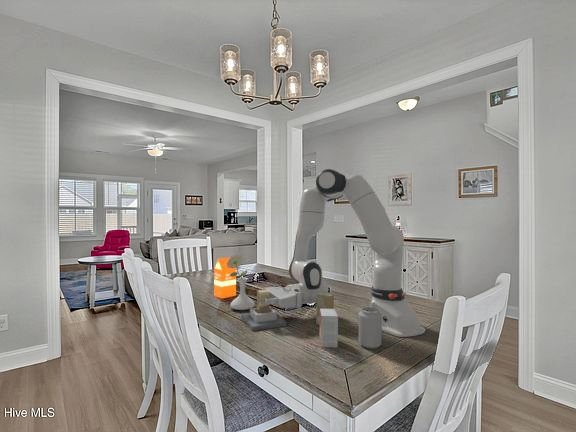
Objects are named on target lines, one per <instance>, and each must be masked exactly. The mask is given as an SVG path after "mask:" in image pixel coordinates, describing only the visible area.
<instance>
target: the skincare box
mask: <svg viewBox="0 0 576 432" xmlns="http://www.w3.org/2000/svg"><path fill="white" fill-rule="evenodd" d="M334 304H335V293H333V292H329V291H328V292H319V293H318V294H317V303H316V318H315V319H316V320H315V324H316V325H319V326H320V309H335V305H334Z"/></svg>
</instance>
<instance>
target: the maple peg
mask: <svg viewBox="0 0 576 432" xmlns="http://www.w3.org/2000/svg"><path fill="white" fill-rule="evenodd" d="M267 298H269V299H270V291H268V290H267V289H265V288H264V289H257V290H256V308H257V313H258V314H260V313H268V312H270V307H271V306H270V305H271V304H265V303H264V299H267Z"/></svg>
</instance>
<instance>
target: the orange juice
mask: <svg viewBox="0 0 576 432" xmlns="http://www.w3.org/2000/svg"><path fill="white" fill-rule="evenodd" d="M231 257H232V256H230V257H222V258H217V261H216V264H215V266H214V268H213V272H214V273H213V275H214V280H213V284H214V285H213V288H214V289H213V291H214V292H213V295H214V297H217V298H220V299H225V298H230V297H235V296H236V295H237V275H236V276H234V277H232V276H229V275H230V274H231V273H233V272H237V267H236V268H234V269H231V268H229V267H227V266H228V265H227V262H228V259H230V258H231Z"/></svg>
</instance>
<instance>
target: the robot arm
mask: <svg viewBox="0 0 576 432" xmlns="http://www.w3.org/2000/svg"><path fill="white" fill-rule="evenodd" d="M343 196H344V198H346V199H347V201H348V202H349V204H350V206H351V208H352V209H353V211H354V213H355V215H356V217H357V218H358V220H359V222H360V224H361V226H362V229H363V231H364V234H365V236H366V238H367V241H368V244H369V246H370V249H371V250H372V251H373V252H375V255H374V261H373V265H372V286H371V296H372V298H371V300H370V304H369V307H372V308H376V309H379V310H380V314H381V315H382V332H384V333H387V334H390V335H393V336H395V337H399V338H400V337H402V338H408V337H409V338H410V337H415V336H420V335H422V334H425V333H426V328H424V327H423V326H421V325H419V317H418V313H417V312H416V311H415V309H413V308H412V306H411V305H410V304H409V303H408V302H407V300H406V299H405V296H407V292H404V291H403V288H402V266H403V258H404V257H403V256H404V243H405V242H404V241H405V236H404V233H403V231H402V230H401V229H400V228H398V227H397V226H396V225H395V226H394V225H393V223H391V220H390V218H389V216H388V213H387V212H386V209H385V207H384V205H383V204H382V202H381V200H380V199H379V197H378V196H377V194H376V192H375V191H374V189H373V187H372V186H371V185H370V183H369V182H368V181H367V180H366V179H365V178H364V177H363V175H361V174H352V175H350V176H348V177H346V175H344V174H342V173H340V172H339V171H337V170H334V169H331V168H328V169H324V170H323V169H322V170H321V171H320V172H319V173H318V174H317V176H316V179H315V187H309V188H308V187H307V188H306V189H304V191H303V192H302V194H301V197H300V205H299V211H298V212H299V215H298V225H297V226H298V227H297V229H296V230H297V231H296V235H295V241H294V248H293V257H292V260H291V262H290V265H289V266H288V274H289V277H290V278H291V279H292V280H293V281H294V282H298V283H293V284H287V285H286V286H285V287H284V288H283V287H280V286H270V287H269V286H267V287H264V289H267V290H268V291H270V299H269V298H267V299H264V303H265V304H270V305H276V306H278V307H279V308H280V309H291V308H292V309H293V308H296V309H301V308H302V305H303V304H314V303H316V304H317V294H318V293H319V292H328V293H329V286H328V284H327V283H326V282H325V280H324V277H323V271H322V267H321V266H320V265H319V264H318V262H315V261H310V260H308V250H309V246H310V245H309V244H310V241H311V239H312V237H314V235H316V234H317V233H319V232H320V231H322V229H323V227H324V223H325V213H326V212H325V209H326V207H325V206H326V203H329V202H331V201H336V200H339V199H341V198H342V197H343Z"/></svg>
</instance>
